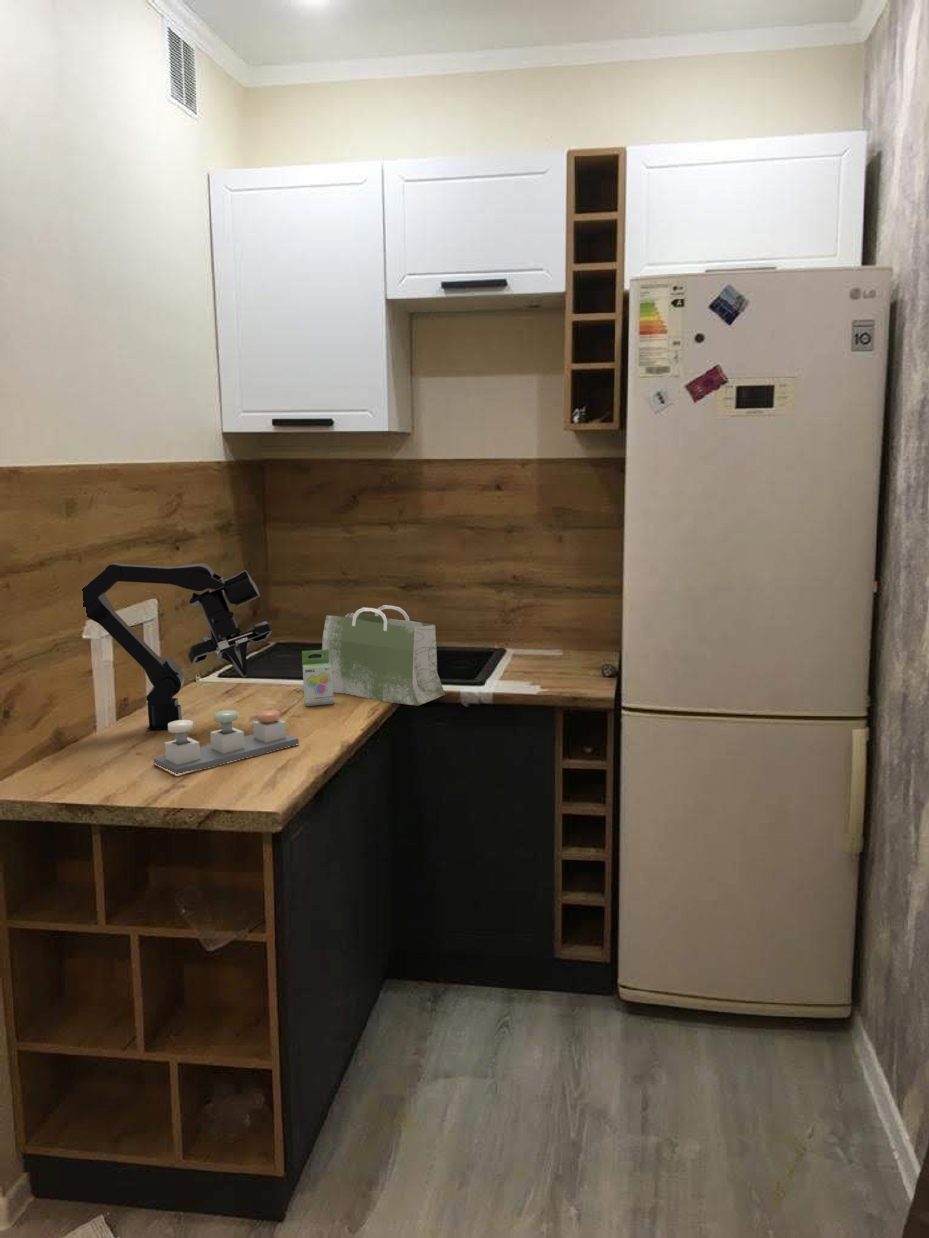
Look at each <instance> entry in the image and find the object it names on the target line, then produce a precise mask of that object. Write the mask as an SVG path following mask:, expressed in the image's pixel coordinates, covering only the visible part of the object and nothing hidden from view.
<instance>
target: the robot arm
mask: <svg viewBox="0 0 929 1238" xmlns="http://www.w3.org/2000/svg"><path fill="white" fill-rule="evenodd" d="M118 582H126V583H128V582H129V583H140V584H141V583H143V584H144V583H145V584H146V583H147V584H162V585H164V584H165V585H171V586H176V587H178V588H182V589H186V590H190V591H195V592H201V593H195V592H192V596H191V598H190V600H189V604H190V605H192V606H193V607H197V606H199V605H200V607H201V609H202V612H203V615H204V617H205V619H206V621H207V624H208V629H209V633H210V635H208V636H206V637H202V638H201V639H200V643H197V644H193V645H192V646H191V648H190V649H189V652H188V659H189V661H190V663H191V665H195V664H197V663H201V662H203V661H205V660H206V658H207V655H209V654H213V653H215V655H216V659H222V660H225V661H226V662H227V663H229V664H230V665H232V667H233V669H235V670H236V671H237V672H238V673H239V674H240V676H241V677H242V678H245V677H247V676H248V668H247V667H248V665H247V652H248V651H247V650H248V648H249V646H250V644H251V642H253V643H258V642H261V641H264V640H266V639H268V638H269V637H270V636H271V634H272V632H273V629H272V627H271V625H270V623H269V622H267V621H263V622H259V623H255V624H254V625H251V626H250V628H249V630H248V631H246V632H242V631H241V629H240V627H238V624H237V622H236V620H235V617H234V615H235V614H234V613H233V612H234V611H232V610H231V608H230V606H229V605H235V606H236V607H240V606H242V605H244V604H247V603H248V602H250V601H252V600H255V599H257V598H259V597H260V596H261V595H260V592H259V589H258V587H257V584H256V583H255V581H254V580H253V579H252V578H251V575H250V574H249V573H248V571H247V570H246V569H245V570H243V571H241V572H240V573H238V574H236V575H234V576H232V577H230V578H228V579H227V578H225V577H223V576H221V575H220V574H218V573H215V572H214V571H213V569H212V567H211V566H210V565H208V564H206V563H203V562H202V563H192V564H191V563H190V564H183V565H177V566H164V565H163V566H162V565H161V566H160V565H147V564H146V565H145V564H129V563H121V562H113V563H111V564H109V565H108V566H106V567H105V569H104V570H103V571H102V572H101V573H99V574H98V575H97V576H96V577H95V578H93V579H92V580H91V581H90V582H88V583H89V584H88V585H86V586H85V587H84V588H83V589H82V591H83V601H84V602H83V607H86V613H87V617H88V619H89V620H92V622H95V623H97V624H98V625H100V626H101V627H102V628H103V629H104V630H105V631H106V632H107V633H108V634H109V635H110V636H111V638H113V639H114V640H115V641H116V643H117V644H119V645H120V646H121V648H123V649H124V651H126V652H127V653H128V654H129V656H131V658H133V660H134V661H136V663H137V664H139V666H140V667H141V668H142V670H144V672H145V674H146V675H147V678H148V680H149V681H150V683H151V685H152V687H151V689H150V691H149V692H148V693H147V695H146V696H145V698H146V701H147V703H146V705H147V715H148V717H147V718H148V726H147V727H146V730H147V729H159V730H168V723H170V722H173V721H177V720H183V718H182V717H183V716H182V705H181V704H179V698H178V697H175V696H176V695H177V694H178V693H179V692H180V690H181V689H182V687H183V685H184V684H185V677H186V676H185V674H184V672H183V671H182V670H183V666H180V665H179V664H177V663H176V661H175V660H174V658H173V657H172V656H171V655H169V656H168V657H167V659H166V658H163V657H161V656H160V655H158V654H157V653H156V652H155V651H154V650H153V649H152V648H151V647H150V646H149V645H148V644H147V643H146V642H145V640H143V638H141V637H140V636H139V635H138V633H137V632H136V631H135V630H134V629H133V628H131V627H130V625H128V623H127V622H126V621H125V620H124V619H123V618H122V617H121V616H120V615H119V614H118V613H117V612H116V611H115V610H114V608H113V606H112V604H111V602H110V599H109V598H108V596H107V595H106V593H107V592H108V591H109V590H110V589H111V588H112V587H114V586H115V585H116V584H117V583H118ZM205 590H206V591H205ZM224 594H225V595H224ZM226 598H227V599H226ZM227 601H228V602H229V604H228V602H227ZM87 617H86V618H87Z"/></svg>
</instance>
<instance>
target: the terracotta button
mask: <svg viewBox="0 0 929 1238" xmlns="http://www.w3.org/2000/svg"><path fill="white" fill-rule="evenodd" d="M256 714H257V716H256V717H257V721H260V722H264V724H266V725H268V724H272V723H274V721H277V720H281V711H279V710H276V709H266V710H261V711H259V712H257V713H256Z"/></svg>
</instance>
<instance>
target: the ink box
mask: <svg viewBox="0 0 929 1238" xmlns="http://www.w3.org/2000/svg"><path fill="white" fill-rule="evenodd" d="M311 655H321V657H312V658H311V657H310V658H309V656H311ZM322 655H323V657H322ZM301 659H302V660H301V663H302V678H303V682H302V683H303V698H304V699H303V701H304V704H305V706H306V707H311V706H312V707H314V706H323V705H334V704H335V701H334V692H333V683H332V667H331V665H330V663H329V649H326V650H322V649H317V650H315V649H313V650H302V651H301Z"/></svg>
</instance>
